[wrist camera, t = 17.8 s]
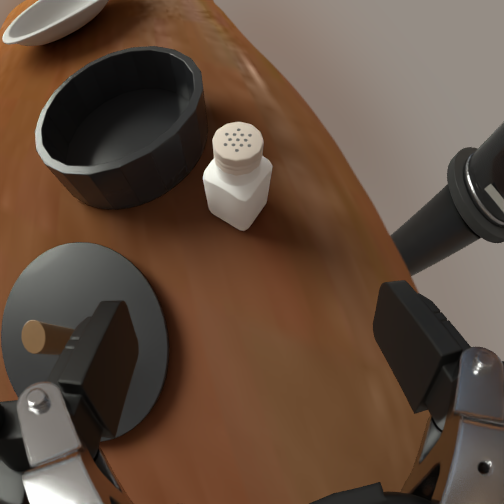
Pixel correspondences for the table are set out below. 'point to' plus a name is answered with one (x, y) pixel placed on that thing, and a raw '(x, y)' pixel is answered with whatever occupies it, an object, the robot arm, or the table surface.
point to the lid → (75, 311)
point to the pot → (125, 127)
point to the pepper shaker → (237, 175)
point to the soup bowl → (51, 21)
